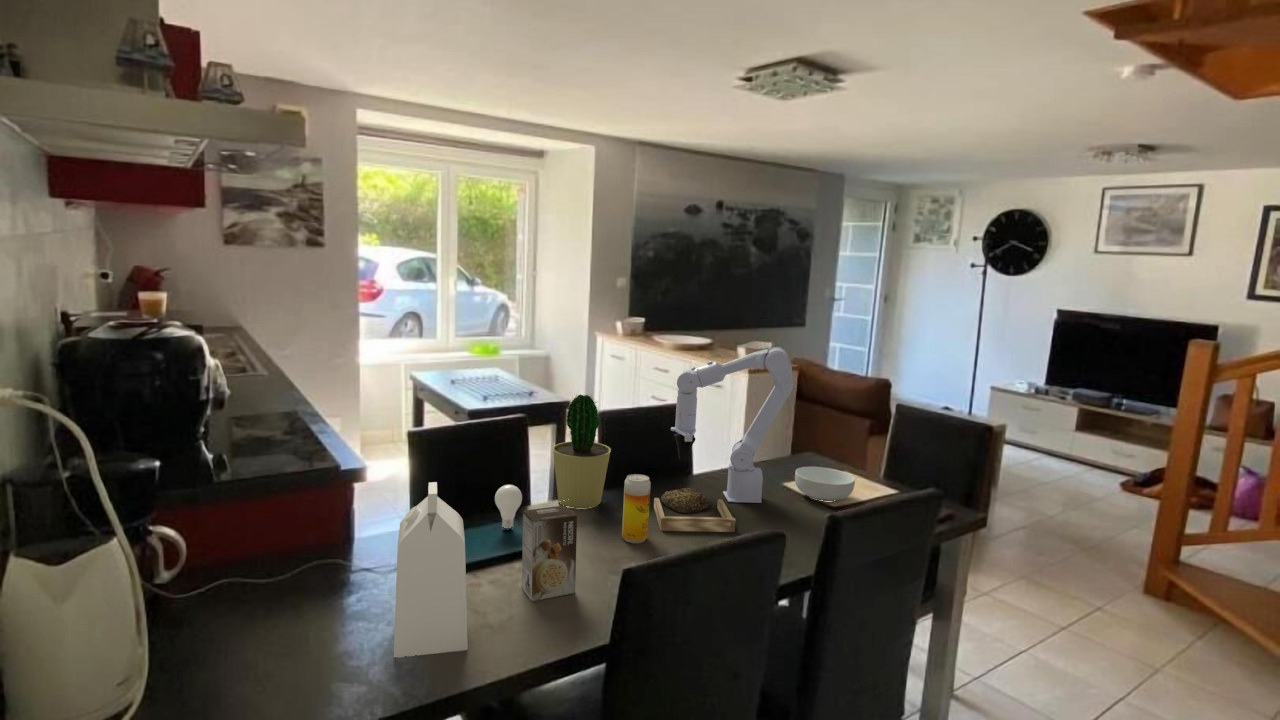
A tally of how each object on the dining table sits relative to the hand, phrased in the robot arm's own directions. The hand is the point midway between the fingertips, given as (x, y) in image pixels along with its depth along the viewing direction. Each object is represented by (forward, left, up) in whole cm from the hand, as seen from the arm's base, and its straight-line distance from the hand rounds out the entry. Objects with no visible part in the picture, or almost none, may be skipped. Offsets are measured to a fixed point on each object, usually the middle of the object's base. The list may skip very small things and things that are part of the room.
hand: (683, 459), depth 196 cm
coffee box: (+35, +61, -10) cm, 71 cm away
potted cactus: (+29, +11, -10) cm, 32 cm away
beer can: (+16, +35, -10) cm, 39 cm away
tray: (0, +21, -9) cm, 23 cm away
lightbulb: (+46, +31, -10) cm, 56 cm away
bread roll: (0, +10, -10) cm, 14 cm away
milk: (+54, +77, -10) cm, 94 cm away
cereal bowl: (-41, +3, -10) cm, 42 cm away
